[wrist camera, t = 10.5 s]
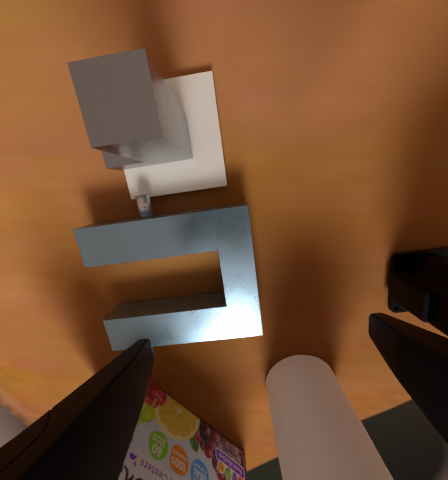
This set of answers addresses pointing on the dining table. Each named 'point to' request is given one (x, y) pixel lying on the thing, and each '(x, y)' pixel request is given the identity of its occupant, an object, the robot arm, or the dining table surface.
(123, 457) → the robot arm
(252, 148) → the dining table surface
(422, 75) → the dining table surface
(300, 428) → the cup
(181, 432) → the snack box
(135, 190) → the tile
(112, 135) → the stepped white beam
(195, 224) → the frame
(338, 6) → the dining table surface
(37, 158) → the dining table surface
